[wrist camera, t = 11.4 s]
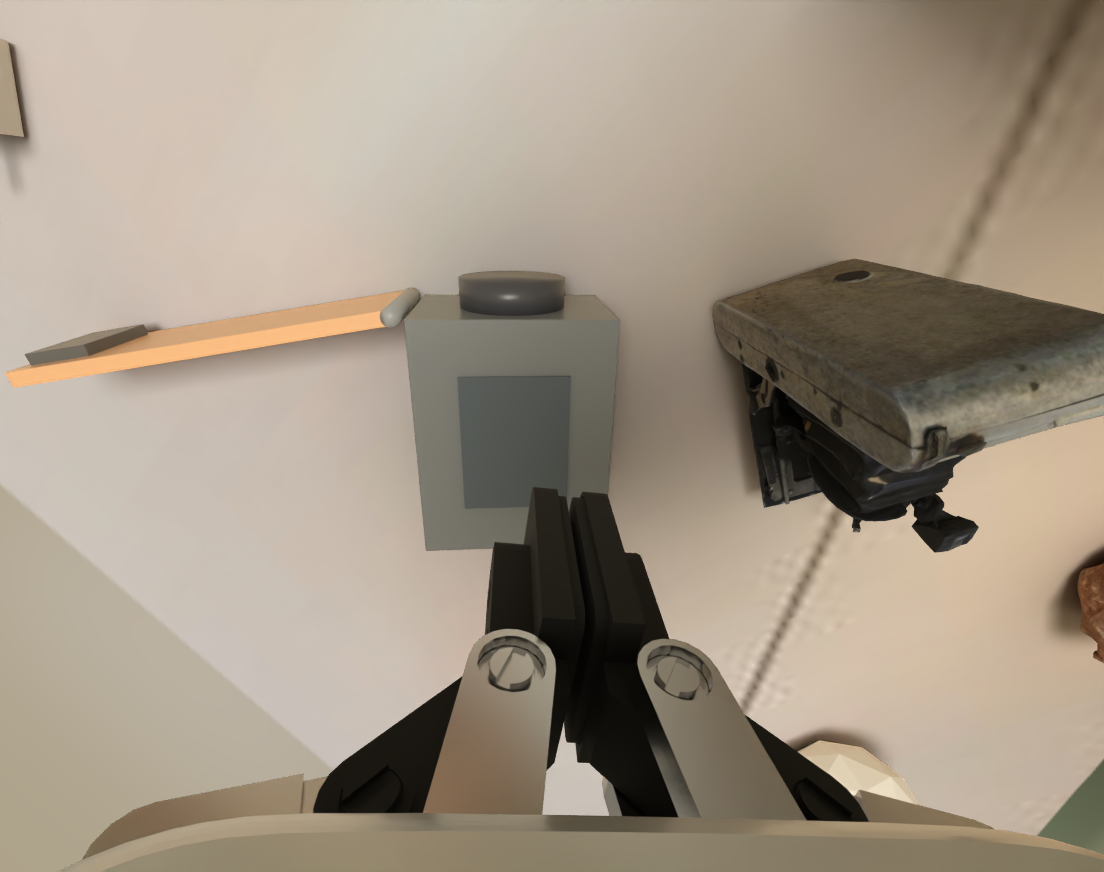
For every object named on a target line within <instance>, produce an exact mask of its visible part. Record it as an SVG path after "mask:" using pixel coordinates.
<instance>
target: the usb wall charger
mask: <svg viewBox="0 0 1104 872" xmlns="http://www.w3.org/2000/svg"><path fill="white" fill-rule="evenodd" d="M0 134H6V135H13V136H21V137H24V134H23V128H22V122H21V116H20V110H19V104H18V98H17V92H16V86H15V80H14V74H13V68H12V62H11V56H10V50H9V44H8V41H5V40H2V39H0Z"/></svg>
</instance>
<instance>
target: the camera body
mask: <svg viewBox="0 0 1104 872" xmlns="http://www.w3.org/2000/svg"><path fill="white" fill-rule="evenodd" d="M564 289H565V278H564V277H563V276H560V275H556V274H550V273H541V272H525V271H492V272H477V273H469V274H464V275H461V276H459V295H425V296H424V297H423V298H422V299H421V300H420V301H419V303H418V304H417V305H416V306H415V307H414V309H413V310H412V311H411V312H410V313H409V314H408V316H407V317H406V318H405V319H404V326H405V336H406V347H407V357H408V368H409V378H410V389H411V399H412V409H413V420H414V430H415V441H416V451H417V462H418V472H419V483H420V493H421V504H422V514H423V525H424V535H425V546H426V551H436V550H463V549H490V548H493V547H494V542H502V543H514V544H524V538H525V532H526V525H527V518H528V512H529V505H530V499H531V493H532V488H533V487H540V488H551V489H557V490H558V496H566V498H567V504H568V510H569V509H570V504H571V500H572V498H573V497H579V498H580V495H581V493H582V492H593V493H604V494H607V496H608V487H609V472H610V457H611V442H612V427H613V412H614V397H615V382H616V367H617V352H618V337H619V322H620V319H619V318H618V317H617V316H616V315H615V314H614V313H613V312H612V311H611V310H610V309H609V308H608V307H607V306H605V305H604V304H603V303H602V302H601V301H600V300H599V299H598V298H597V297H596V296H595V295H564Z"/></svg>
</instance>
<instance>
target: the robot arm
mask: <svg viewBox="0 0 1104 872" xmlns="http://www.w3.org/2000/svg"><path fill="white" fill-rule="evenodd" d="M563 723H564V727H565V737H566V741H567V742H568V743H576V752H577V762H579V763H590V765H592V766H593V767H594V768H595V769H596V770H597V771H598V772H599V773H600V774H601V775H602V776H603V781H602V786H603V794H604V798H605V802H606V805H607V809H608V812H609V816H578V815H542V810H543V800H544V790H545V779H546V771H547V770H548V769H549V768H550V767H551V766H552V765H553V763H554V762H555V757H556V753H557V748H558V744H559V740H560V736H561V732H562V727H563ZM57 872H1104V855H1102V854H1100V853H1097V852H1094V851H1091V850H1088V849H1084V848H1081V847H1077V846H1073V845H1070V844H1067V843H1063V842H1060V841H1056V840H1052V839H1049V838H1043V837H1038V836H1032V835H1027V834H1021V833H1016V832H1011V831H1004V830H995V829H993V828H992V827H990V826H988V825H985V824H983V823H980V822H978V821H976V820H973V819H969V818H965V817H962V816H958V815H954V814H950V813H946V812H943V811H939V810H935V809H931V808H927V807H924V806H920V805H916V804H912V803H909V802H905V801H901V800H897V799H893V798H890V797H886V796H882V795H878V794H875V793H871V792H867V791H863V790H858V792H857V793H856V795H855V796H854V795H852V794H851V793H850V792H849V791H848V789H847V788H845V787H844V786H843V785H842V784H841V783H839V782H838V781H837V780H836V779H835V778H834V777H832V776H831V775H830V774H828V773H827V772H825V771H824V770H822V769H821V768H820V767H818V766H817V765H815V764H814V763H813V762H811V761H810V760H808V759H807V758H805V757H804V756H803V755H801V754H800V753H798V752H797V751H796V750H794V749H793V748H791V747H790V746H788V745H787V744H786V743H784V742H783V741H781V740H780V739H779V738H777V737H776V736H774V735H773V734H771V733H770V732H769V731H767V730H766V729H764V728H763V727H761V726H760V725H759V724H757V723H756V722H754V721H753V720H752V719H750V718H749V717H747V716H746V715H744V713H743V711H742V710H741V708H740V706H739V705H738V703H737V701H736V699H735V698H734V696H733V694H732V693H731V691H730V689H729V688H728V686H727V684H726V682H725V681H724V679H723V677H722V676H721V674H720V672H719V671H718V669H717V667H716V666H715V665H714V664H713V662H712V661H711V660H710V658H709V657H707V656H706V655H705V654H704V653H703V652H701V651H700V650H699V649H697V648H695V647H693V646H691V645H690V644H688V643H685V642H682V641H678V640H675V639H669V637H668V634H667V631H666V628H665V625H664V622H663V619H662V616H661V613H660V610H659V607H658V604H657V602H656V599H655V596H654V593H653V590H652V587H651V584H650V581H649V578H648V575H647V572H646V569H645V566H644V563H643V561H642V558H641V556H640V555H639V554H636V553H625V552H624V548H623V545H622V542H621V538H620V535H619V532H618V528H617V525H616V522H615V518H614V515H613V512H612V508H611V505H610V502H609V498H608V496H607V494H604V493H593V492H582V493H581V495H580V498H579V497H573V498H572V500H571V504H570V509H569V510H568V504H567V498H566V496H558V490H557V489H551V488H540V487H533V488H532V493H531V499H530V505H529V512H528V518H527V525H526V532H525V538H524V544H514V543H502V542H494V547H493V554H492V562H491V570H490V579H489V589H488V600H487V613H486V628H485V636H483V637H481V638H480V639H479V640H478V641H477V642H476V643H475V644H474V646H473V647H472V649H471V651H470V653H469V656H468V659H467V663H466V666H465V670H464V673H463V676H462V677H461V678H459V679H458V680H457V681H455V682H454V683H452V684H451V685H450V686H448V687H447V688H445V689H444V690H443V691H441V692H440V693H438V694H437V695H436V696H434V697H433V698H431V699H430V700H429V701H427V702H426V703H424V704H423V705H422V706H420V707H419V708H417V709H416V710H415V711H413V712H412V713H410V714H409V715H408V716H406V717H405V718H403V719H402V720H401V721H399V722H398V723H396V724H395V725H394V726H392V727H391V728H389V729H388V730H387V731H385V732H384V733H382V734H381V735H380V736H378V737H377V738H375V739H374V740H373V741H371V742H370V743H368V744H367V745H366V746H364V747H363V748H361V749H360V750H359V751H357V752H356V753H354V754H353V755H352V756H350V757H349V758H347V759H346V760H345V761H343V762H342V763H341V764H340V765H339V766H338V767H337V768H336V769H334V770H333V771H332V772H331V773H330V774H329V776H327V777H322V778H317V779H312V780H307V781H304V774H299V775H293V776H288V777H283V778H278V779H273V780H268V781H263V782H257V783H252V784H247V785H242V786H237V787H231V788H226V789H221V790H216V791H211V792H206V793H201V794H195V795H190V796H185V797H179V798H174V799H169V800H164V801H159V802H155V803H152V804H149V805H146V806H143V807H140V808H137V809H135V810H133V811H131V812H129V813H128V814H126V815H125V816H123V817H122V818H120V819H119V820H117V821H115V822H114V823H112V824H111V825H110V826H109V827H108V828H107V829H106V830H105V831H104V832H103V833H102V834H101V835H100V836H99V837H98V838H97V839H96V840H95V841H94V842H93V843H92V844H91V845H90V847H89V849H88V850H87V852H86V854H85V856H84V857H83V859H82V860H80V861H78V862H76V863H74V864H72V865H70V866H68V867H66V868H64V869H62V870H60V871H57Z"/></svg>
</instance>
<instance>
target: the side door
mask: <svg viewBox="0 0 1104 872" xmlns="http://www.w3.org/2000/svg"><path fill="white" fill-rule="evenodd" d="M418 300H419V293H418V291H417V290H416V289H414V288H407V289H406V290H404V291H398V292H391V293H385V294H379V295H373V296H367V297H361V298H355V299H349V300H342V301H336V302H330V303H324V304H318V305H312V306H306V307H300V308H294V309H287V310H281V311H275V312H269V313H263V314H257V315H251V316H245V317H238V318H232V319H226V320H220V321H214V322H208V323H202V324H196V325H189V326H183V327H177V328H171V329H165V330H159V331H153V332H147V331H146V329H145V327H144V324H143V325H137V326H131V327H125V328H119V329H113V330H107V331H100V332H94V333H91V334H88V335H84V336H81V337H78V338H75V339H72V340H69V341H65V342H62V343H59V344H56V345H53V346H50V347H46V348H43V349H40V350H37V351H34V352H31V353H27V354H25V356H26V357H27V359H28V361H29V363H30V364H29V365H26V366H23V367H20V368H17V369H14V370H11V371H8V372H6V373H5V374H6V375H7V377H8V379H9V380H10V382H11V384H12V386H13V387H14V388H15V387H21V386H27V385H33V384H40V383H46V382H52V381H58V380H64V379H70V378H76V377H82V376H88V375H94V374H100V373H106V372H113V371H119V370H125V369H131V368H137V367H143V366H149V365H155V364H161V363H167V362H173V361H179V360H185V359H192V358H198V357H204V356H210V355H216V354H222V353H228V352H234V351H240V350H246V349H252V348H258V347H265V346H271V345H277V344H283V343H289V342H295V341H301V340H307V339H313V338H319V337H325V336H331V335H337V334H344V333H350V332H356V331H362V330H368V329H374V328H380V327H389V328H392V327H395V326H397V325H398V323H399V322H400V321H401V320H402V319H403V318H404V317H405V315H406V314H407V313H408V312H409V311H410V310H411V309H412V307H413V306H414V305H415V304H416V303H417V302H418Z"/></svg>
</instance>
